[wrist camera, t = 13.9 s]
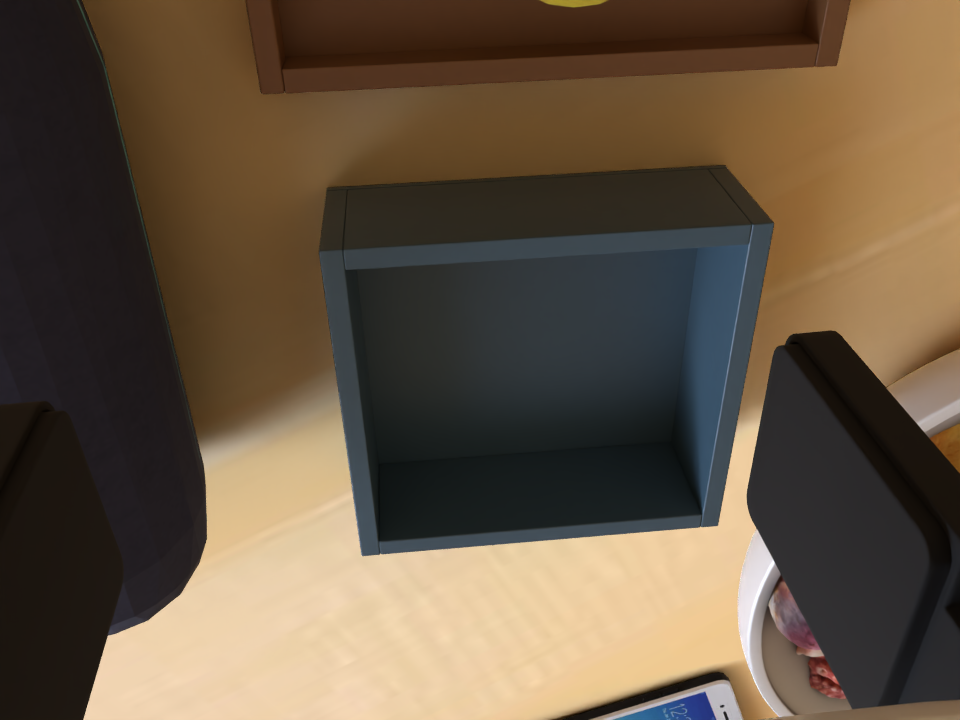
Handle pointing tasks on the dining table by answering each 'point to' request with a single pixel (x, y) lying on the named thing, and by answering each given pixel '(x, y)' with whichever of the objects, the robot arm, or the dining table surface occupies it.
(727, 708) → the smartphone
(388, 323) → the blue open storage box
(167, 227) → the dining table surface
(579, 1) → the lemon
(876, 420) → the robot arm
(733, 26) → the tray
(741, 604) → the bowl
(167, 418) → the portable speaker
